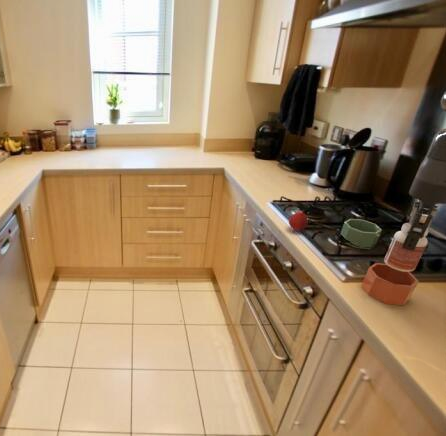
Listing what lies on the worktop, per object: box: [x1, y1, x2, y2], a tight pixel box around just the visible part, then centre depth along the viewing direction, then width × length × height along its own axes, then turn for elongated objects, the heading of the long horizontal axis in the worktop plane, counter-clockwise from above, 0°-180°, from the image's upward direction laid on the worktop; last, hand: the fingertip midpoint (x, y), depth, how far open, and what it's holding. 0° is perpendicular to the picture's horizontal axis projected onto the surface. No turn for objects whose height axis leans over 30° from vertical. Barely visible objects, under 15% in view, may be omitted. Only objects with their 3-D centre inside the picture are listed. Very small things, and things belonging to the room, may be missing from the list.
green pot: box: [339, 218, 383, 250], centre depth 105 cm, size 9×9×6 cm
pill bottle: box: [383, 222, 430, 273], centre depth 77 cm, size 6×6×11 cm
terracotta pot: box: [361, 262, 420, 306], centre depth 83 cm, size 9×9×6 cm
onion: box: [288, 210, 309, 232], centre depth 112 cm, size 6×6×8 cm
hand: (408, 242), depth 77 cm, fingers closed on pill bottle, 6 cm apart
